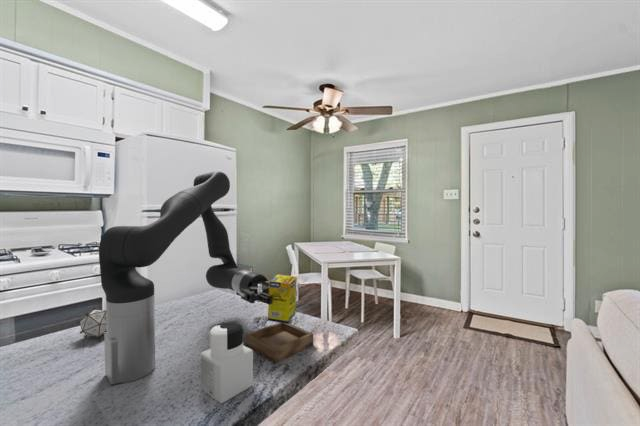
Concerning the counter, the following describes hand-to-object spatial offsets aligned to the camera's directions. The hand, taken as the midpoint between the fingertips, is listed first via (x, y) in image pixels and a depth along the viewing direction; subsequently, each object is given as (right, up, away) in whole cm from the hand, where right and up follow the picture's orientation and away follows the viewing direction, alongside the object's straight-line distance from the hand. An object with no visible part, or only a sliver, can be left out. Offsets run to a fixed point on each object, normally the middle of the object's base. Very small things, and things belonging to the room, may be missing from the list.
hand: (283, 296), depth 78 cm
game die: (-55, -14, +7) cm, 57 cm away
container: (-10, -14, -17) cm, 24 cm away
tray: (-1, -14, +1) cm, 14 cm away
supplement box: (-1, -6, +1) cm, 6 cm away
